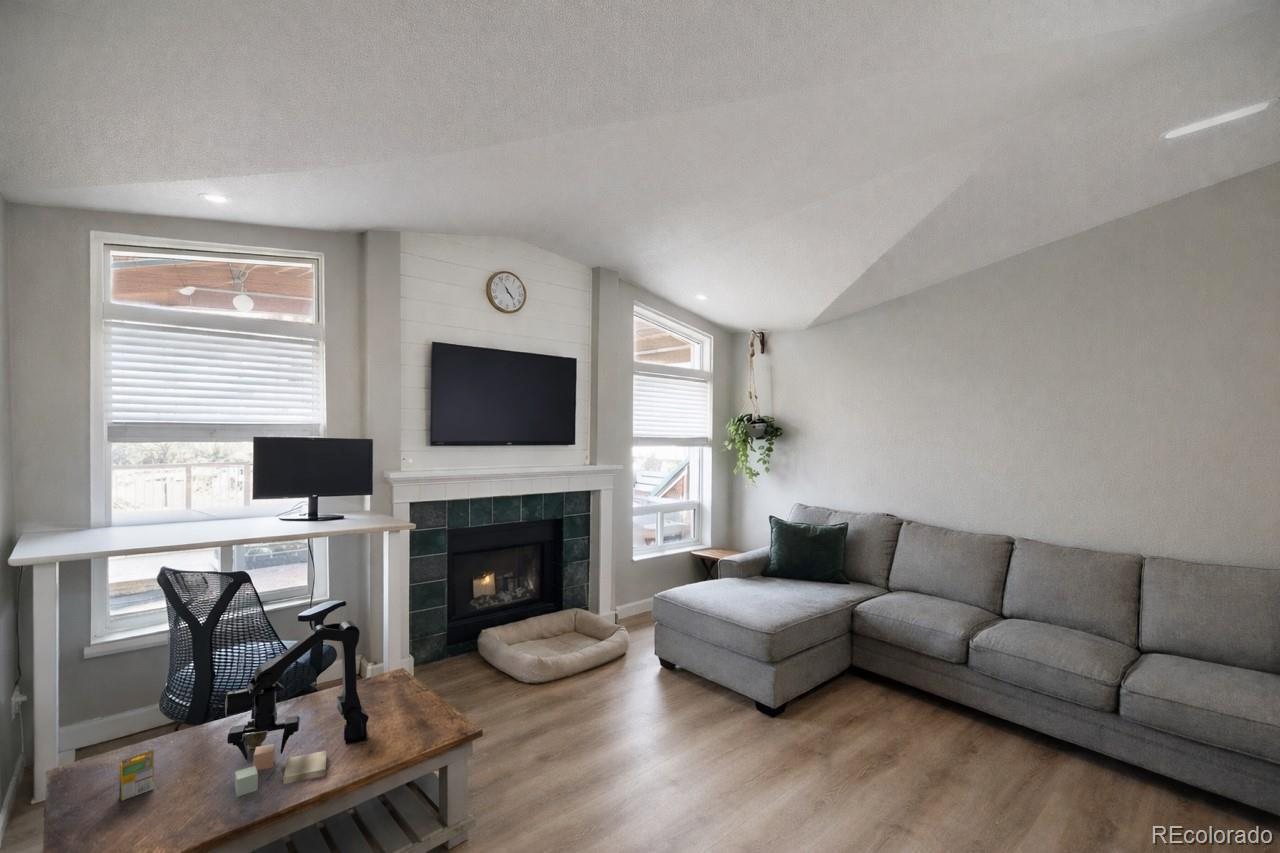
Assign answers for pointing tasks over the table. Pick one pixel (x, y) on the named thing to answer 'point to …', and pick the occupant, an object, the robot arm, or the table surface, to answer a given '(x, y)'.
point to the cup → (254, 737)
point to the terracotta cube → (264, 757)
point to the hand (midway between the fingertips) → (264, 756)
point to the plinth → (305, 767)
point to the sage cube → (246, 780)
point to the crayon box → (136, 775)
